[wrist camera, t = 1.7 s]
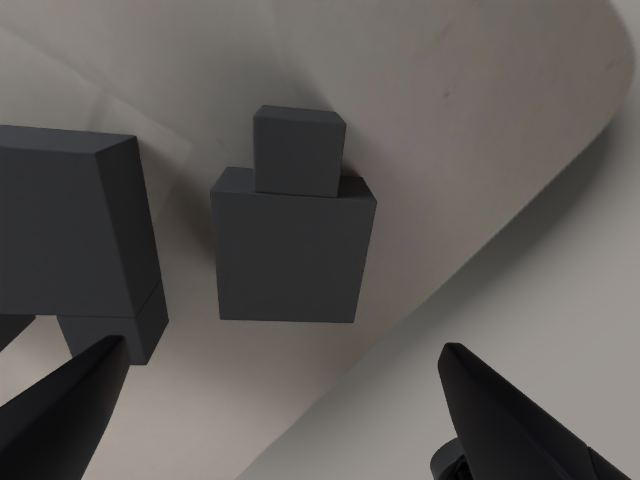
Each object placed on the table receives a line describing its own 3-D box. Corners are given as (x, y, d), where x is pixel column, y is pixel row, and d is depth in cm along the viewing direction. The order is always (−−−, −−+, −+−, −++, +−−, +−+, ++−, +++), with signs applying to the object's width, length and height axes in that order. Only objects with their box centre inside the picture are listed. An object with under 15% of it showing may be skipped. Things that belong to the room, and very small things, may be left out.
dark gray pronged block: (137, 135, 13) (95, 152, 10) (169, 321, 17) (146, 366, 15) (-145, 112, 12) (-273, 125, 9) (-30, 316, 16) (-92, 363, 14)
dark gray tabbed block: (372, 115, 13) (392, 127, 10) (345, 284, 17) (354, 323, 14) (223, 101, 12) (203, 109, 10) (232, 279, 16) (219, 320, 14)
